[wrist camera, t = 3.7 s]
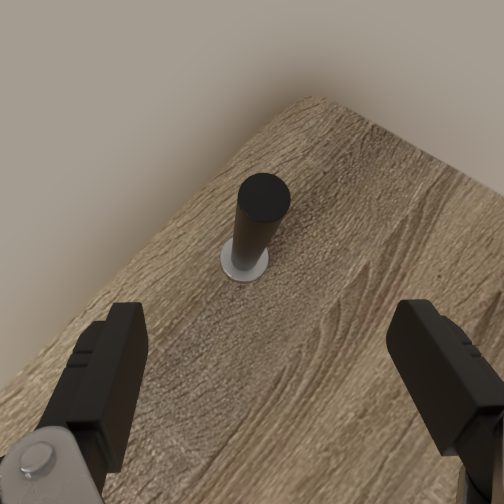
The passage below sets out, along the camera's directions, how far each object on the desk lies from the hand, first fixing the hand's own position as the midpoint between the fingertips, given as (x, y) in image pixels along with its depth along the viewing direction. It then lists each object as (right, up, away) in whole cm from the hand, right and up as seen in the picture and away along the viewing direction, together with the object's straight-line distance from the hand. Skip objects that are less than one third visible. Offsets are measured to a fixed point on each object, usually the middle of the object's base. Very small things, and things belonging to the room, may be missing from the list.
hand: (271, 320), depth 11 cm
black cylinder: (-1, +1, +16) cm, 16 cm away
